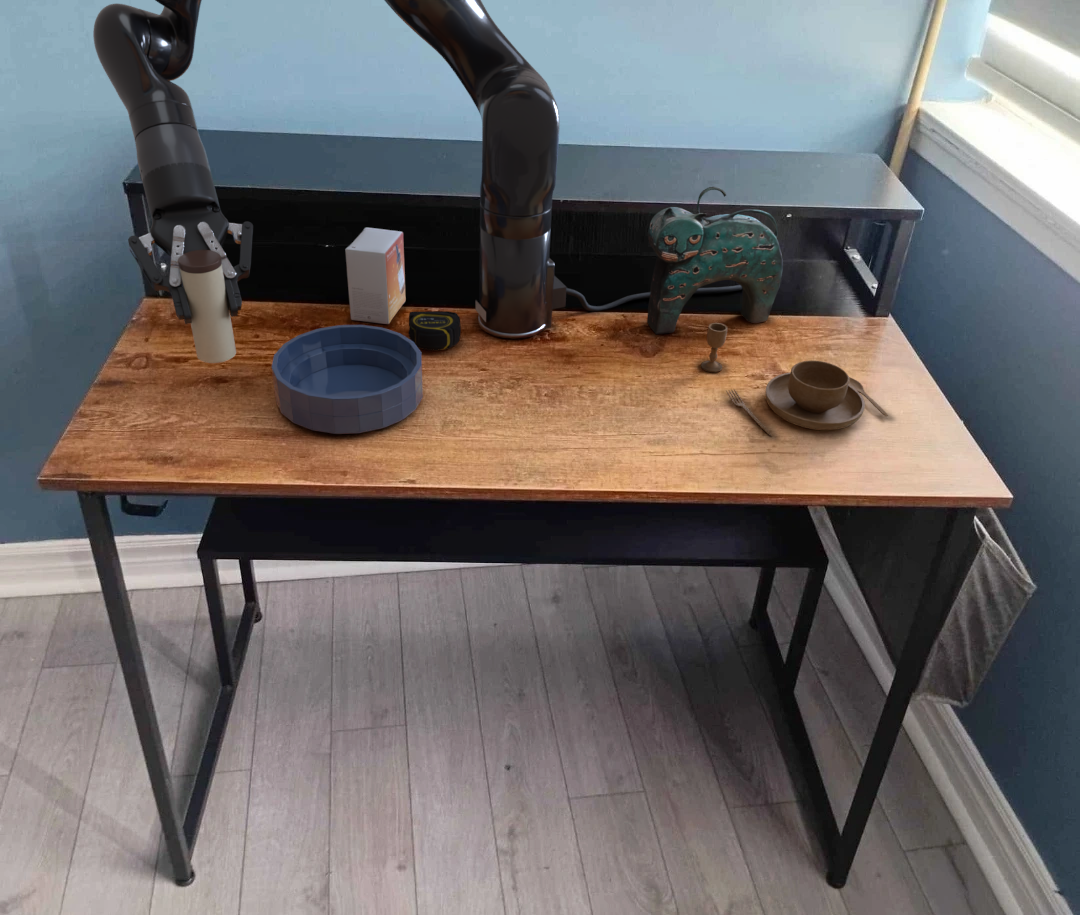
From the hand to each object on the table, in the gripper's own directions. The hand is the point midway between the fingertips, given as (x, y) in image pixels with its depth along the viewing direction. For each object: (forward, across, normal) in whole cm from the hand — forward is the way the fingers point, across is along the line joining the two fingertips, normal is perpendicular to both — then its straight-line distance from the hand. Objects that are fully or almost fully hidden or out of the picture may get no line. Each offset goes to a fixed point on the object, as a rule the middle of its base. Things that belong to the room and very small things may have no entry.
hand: (211, 317), depth 109 cm
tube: (+3, 0, +5) cm, 6 cm away
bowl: (+11, +14, +5) cm, 18 cm away
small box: (-4, +24, +20) cm, 31 cm away
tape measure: (+4, +28, +13) cm, 31 cm away
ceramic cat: (+10, +66, +7) cm, 67 cm away
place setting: (+24, +66, -7) cm, 70 cm away
